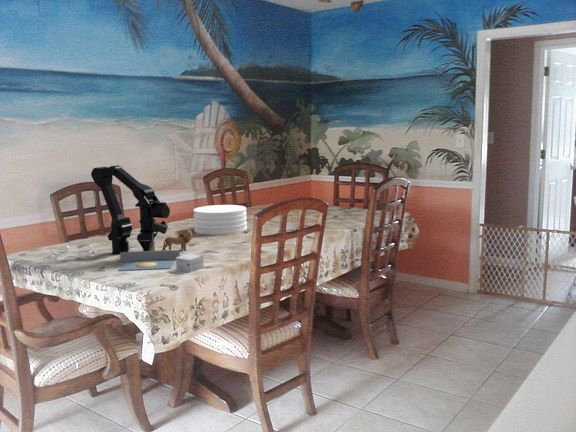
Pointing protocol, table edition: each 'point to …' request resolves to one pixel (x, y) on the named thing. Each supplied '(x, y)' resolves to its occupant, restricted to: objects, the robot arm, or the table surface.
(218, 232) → the plate stack
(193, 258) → the small box
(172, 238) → the lion figurine
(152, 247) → the brown rounded cylinder
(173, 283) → the table surface
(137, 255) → the low wall
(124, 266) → the mat
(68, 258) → the game piece set
